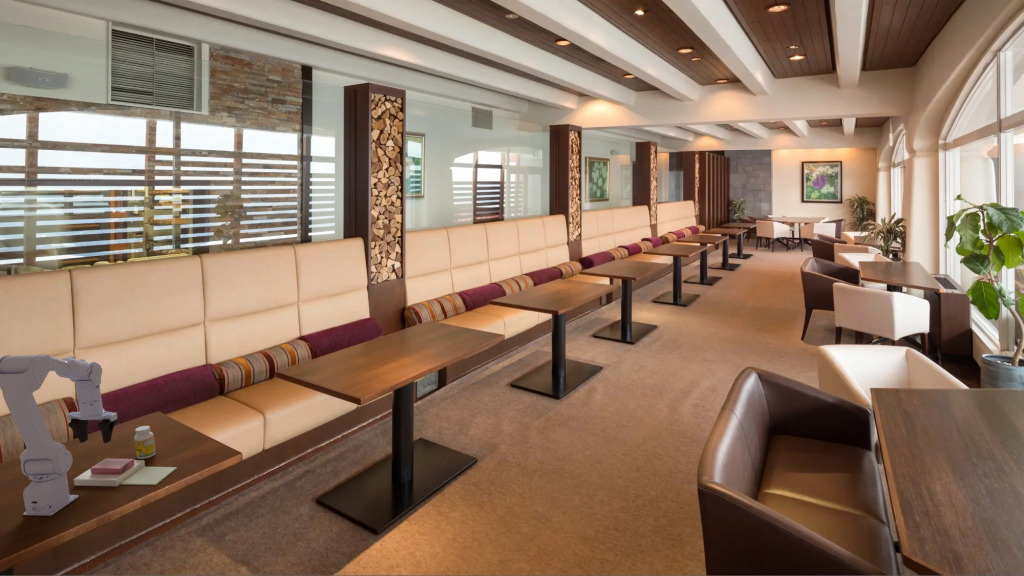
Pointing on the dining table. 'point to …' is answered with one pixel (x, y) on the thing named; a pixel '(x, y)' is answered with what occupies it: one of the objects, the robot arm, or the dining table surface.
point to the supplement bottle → (144, 442)
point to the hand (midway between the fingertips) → (95, 441)
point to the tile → (112, 466)
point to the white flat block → (107, 477)
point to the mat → (148, 476)
